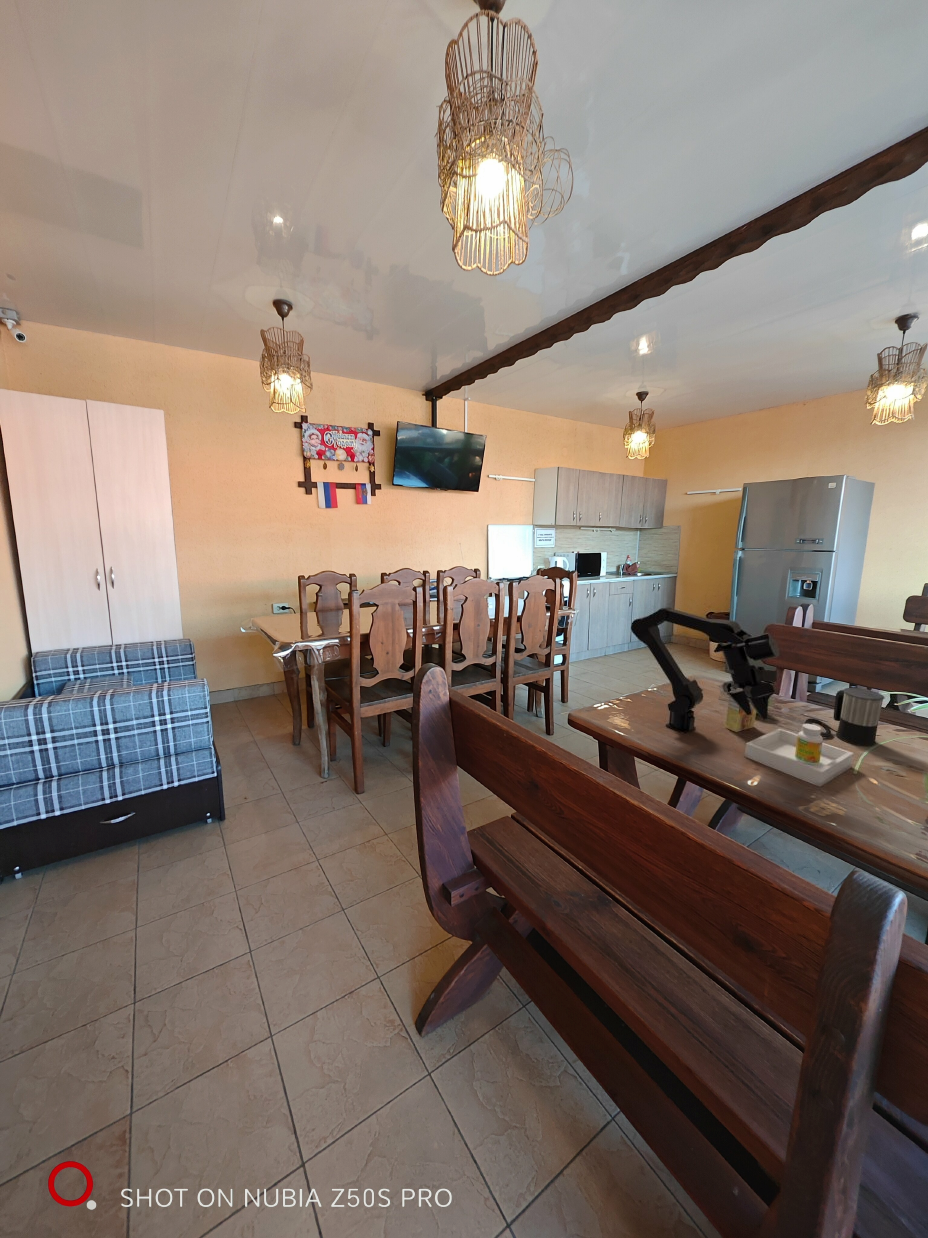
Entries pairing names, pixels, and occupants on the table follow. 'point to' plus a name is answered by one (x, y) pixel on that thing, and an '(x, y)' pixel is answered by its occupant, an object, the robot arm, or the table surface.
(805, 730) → the supplement bottle
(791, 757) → the box
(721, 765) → the table surface
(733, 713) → the candy box
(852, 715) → the milk frother
